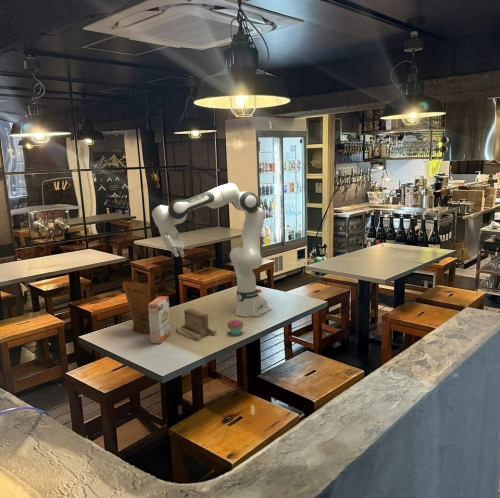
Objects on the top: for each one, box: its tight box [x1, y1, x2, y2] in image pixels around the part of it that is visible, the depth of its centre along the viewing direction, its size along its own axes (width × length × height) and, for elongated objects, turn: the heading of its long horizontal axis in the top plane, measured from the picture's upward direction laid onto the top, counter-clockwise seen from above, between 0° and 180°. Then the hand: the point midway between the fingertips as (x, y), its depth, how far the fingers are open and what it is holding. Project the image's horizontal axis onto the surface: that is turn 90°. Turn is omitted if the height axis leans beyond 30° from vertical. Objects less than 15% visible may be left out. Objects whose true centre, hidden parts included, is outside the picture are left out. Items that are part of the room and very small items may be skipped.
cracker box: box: [148, 295, 171, 345], centre depth 234 cm, size 14×6×21 cm, turn 168°
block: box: [183, 307, 210, 339], centre depth 240 cm, size 5×14×12 cm, turn 43°
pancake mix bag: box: [121, 281, 151, 335], centre depth 244 cm, size 7×19×28 cm, turn 52°
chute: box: [175, 323, 218, 342], centre depth 242 cm, size 12×20×2 cm, turn 43°
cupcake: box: [226, 312, 244, 336], centre depth 239 cm, size 9×8×12 cm
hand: (180, 256), depth 244 cm, fingers open, 8 cm apart
